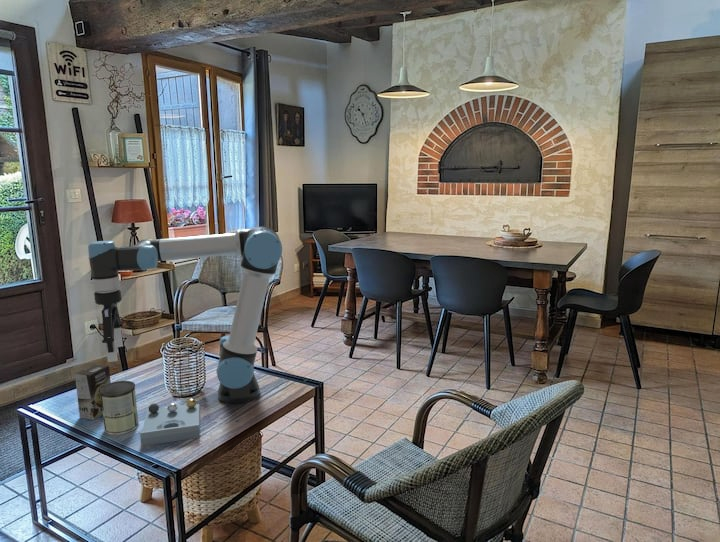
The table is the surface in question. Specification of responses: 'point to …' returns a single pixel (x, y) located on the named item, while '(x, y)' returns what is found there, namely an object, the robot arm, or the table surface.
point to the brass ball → (191, 403)
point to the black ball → (153, 408)
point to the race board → (171, 425)
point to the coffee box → (91, 390)
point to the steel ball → (172, 407)
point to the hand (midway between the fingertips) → (115, 353)
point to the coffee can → (119, 407)
